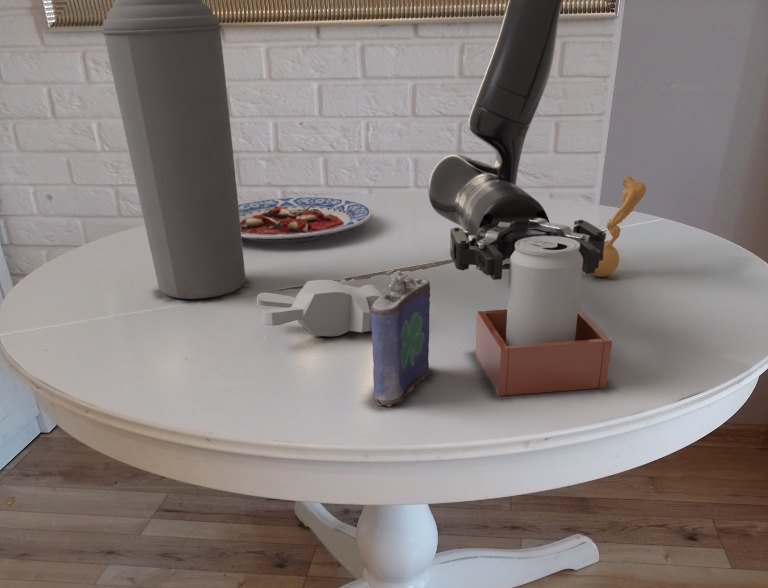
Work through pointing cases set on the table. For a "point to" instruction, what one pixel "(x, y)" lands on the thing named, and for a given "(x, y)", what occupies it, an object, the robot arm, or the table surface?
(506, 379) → the box
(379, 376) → the flask
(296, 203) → the ceramic plate
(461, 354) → the table surface
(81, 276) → the table surface
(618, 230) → the figurine
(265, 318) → the bunny figurine
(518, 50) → the robot arm
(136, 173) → the canister
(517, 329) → the beverage can
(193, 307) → the table surface
